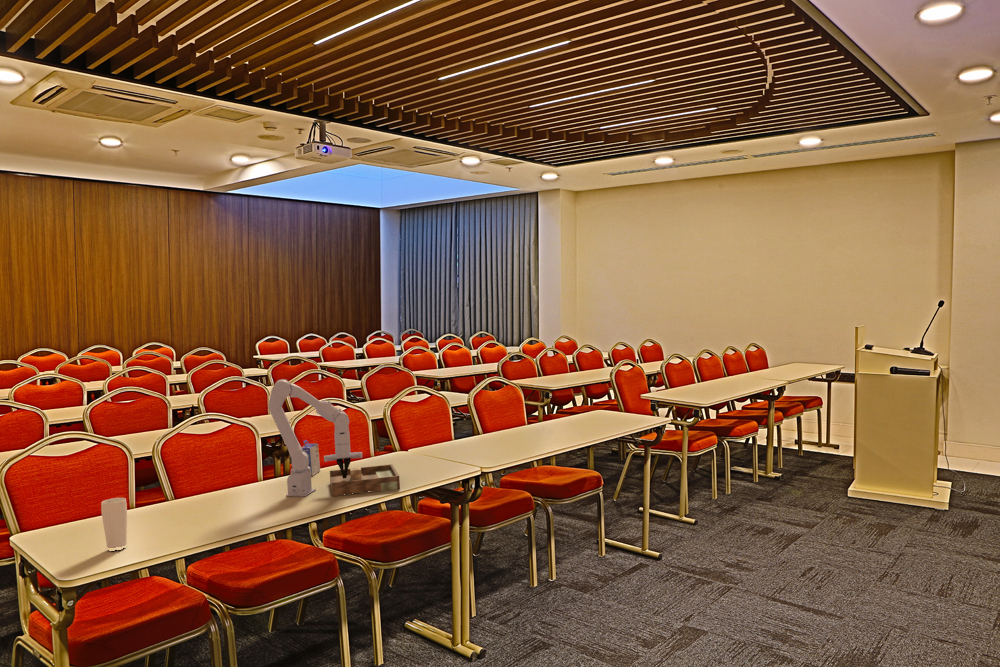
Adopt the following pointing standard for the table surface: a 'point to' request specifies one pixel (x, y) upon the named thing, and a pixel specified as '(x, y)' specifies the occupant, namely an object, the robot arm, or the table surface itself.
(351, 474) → the block
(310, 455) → the ink cartridge box
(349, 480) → the box
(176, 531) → the table surface
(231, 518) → the table surface
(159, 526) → the table surface
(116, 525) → the drinking glass
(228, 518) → the table surface
